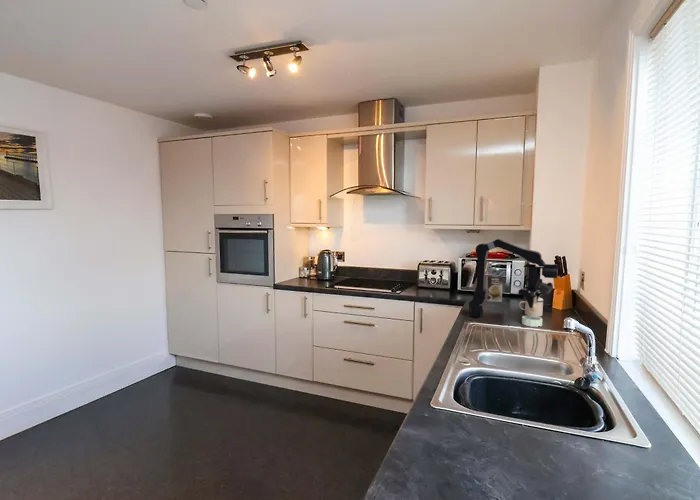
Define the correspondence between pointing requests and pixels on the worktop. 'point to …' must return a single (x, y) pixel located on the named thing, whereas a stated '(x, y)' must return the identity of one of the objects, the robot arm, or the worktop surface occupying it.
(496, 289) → the coffee box
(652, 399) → the worktop surface
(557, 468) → the worktop surface
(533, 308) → the wooden square beam
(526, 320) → the light green piece
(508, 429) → the worktop surface
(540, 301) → the teacup with lid
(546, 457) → the worktop surface
